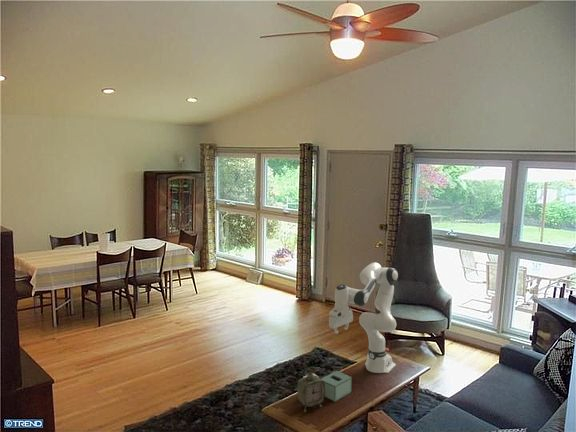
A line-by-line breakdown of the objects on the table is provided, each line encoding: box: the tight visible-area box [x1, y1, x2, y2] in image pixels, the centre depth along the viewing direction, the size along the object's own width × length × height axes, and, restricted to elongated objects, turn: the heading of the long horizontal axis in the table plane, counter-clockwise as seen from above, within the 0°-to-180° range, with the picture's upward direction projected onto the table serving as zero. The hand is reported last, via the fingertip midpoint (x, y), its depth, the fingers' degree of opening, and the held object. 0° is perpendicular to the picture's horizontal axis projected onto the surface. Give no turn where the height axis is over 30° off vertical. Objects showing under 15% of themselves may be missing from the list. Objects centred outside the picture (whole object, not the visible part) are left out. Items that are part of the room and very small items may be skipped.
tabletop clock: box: [296, 366, 326, 413], centre depth 264 cm, size 14×9×25 cm, turn 119°
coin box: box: [320, 370, 353, 403], centre depth 281 cm, size 16×12×10 cm
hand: (341, 331), depth 290 cm, fingers open, 8 cm apart
